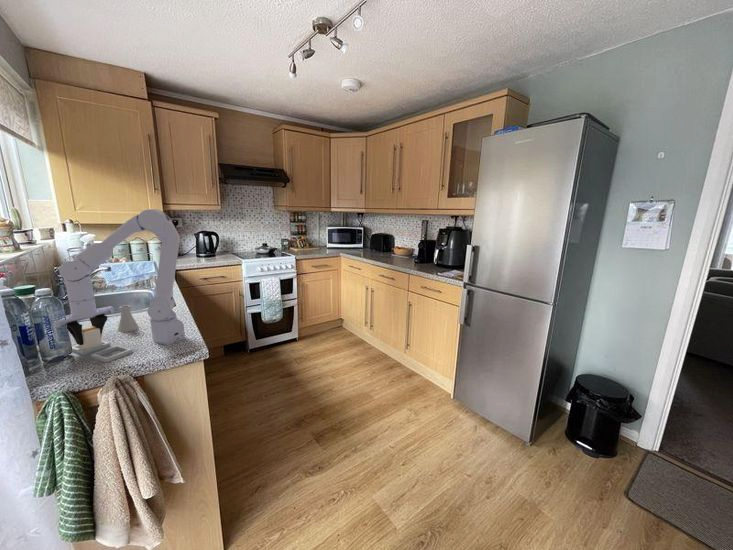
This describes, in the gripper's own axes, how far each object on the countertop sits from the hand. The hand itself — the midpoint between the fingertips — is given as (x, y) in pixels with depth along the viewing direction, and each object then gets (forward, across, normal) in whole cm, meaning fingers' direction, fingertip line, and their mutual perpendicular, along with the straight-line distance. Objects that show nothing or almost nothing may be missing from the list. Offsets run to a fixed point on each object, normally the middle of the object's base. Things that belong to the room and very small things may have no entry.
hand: (89, 341), depth 94 cm
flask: (+4, -14, -6) cm, 16 cm away
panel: (+4, 0, +6) cm, 7 cm away
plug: (+2, 0, 0) cm, 2 cm away
